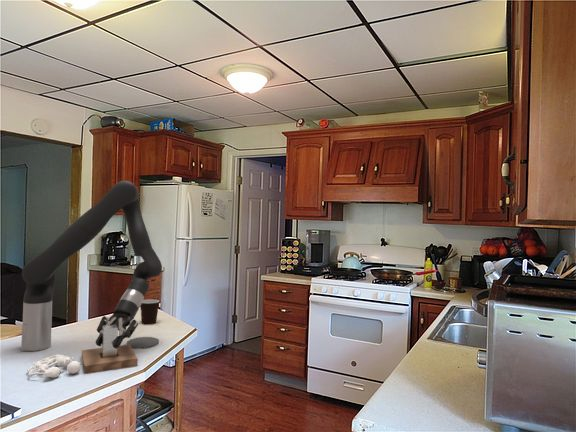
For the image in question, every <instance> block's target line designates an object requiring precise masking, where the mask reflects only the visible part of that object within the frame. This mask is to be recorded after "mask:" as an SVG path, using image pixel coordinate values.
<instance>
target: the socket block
mask: <svg viewBox="0 0 576 432" xmlns="http://www.w3.org/2000/svg"><path fill="white" fill-rule="evenodd" d="M101 355H102V347H99V348H98V347H97V348H90V349H82V350H81V357H80V358H81V364H82V367H83V373H84V374H92V373H97V372H99V373H100V372H106V371H110V370H111V371H113V370H119V369H125V368H131V367H132V368H133V367H137V366H138V364H139V363H138V360H139V359H138V356H137V355H136V353H135V351H134V348H132V347H131V346H130V344H129V345H127V344H123V345H120V346H119V347H118V348H117V356H113V357H106V358H101Z"/></svg>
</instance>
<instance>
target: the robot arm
mask: <svg viewBox="0 0 576 432" xmlns="http://www.w3.org/2000/svg"><path fill="white" fill-rule="evenodd" d="M139 195H140V194H139V189H138V187H137V186H136V185H135V184H134V183H133V182H131V181H129V180H121V181H118V182H116V183H115V184H114V185H113V186H112V187H111V189H110V190H109V191H108V192H107V193H106V194H105V195H104V196H103V197H102V199H100V200H99V201H98V202H97V203H96V204H95V205H94V206H91V208H89V209H88V210H86V211H85V212H84V213H83V214H81V216H79V217H78V218H77V219H76V220H74V221H73V222H72V223H71V224H70V225H69V226H68V227H67V228H66V229H65V230H64V231H63V232H62V233H61V234H60V235H59V236H58V237H57V238H56V239H55V240H54V241H53V242H52V243H51V245H50V246H48V247H47V248H46V249H45V250H44V251H42V252H40V253H39V254H38V255H37V256H35V257H33V259H31V260H30V261H28V262H26V263H25V264H24V266H23V268H22V271H21V276H22V279H23V281H24V282H25V283H26V286H25V291H24V295H23V304H22V324H21V343H20V345H21V346H20V347H21V348H20V349H21V350H20V351H21V352H35V351H37V352H38V351H42V350H45V349H48V348H50V347H51V346H52V324H53V323H52V321H53V319H52V318H53V296H54V292H55V282H56V281H55V280H56V270H57V269H58V268H59V267H60V266H61V265H62V264H63V263H64V262H65V261H66V260H67V259H69V258H70V257H71V256H73V255H74V254H76V253H77V252H79V251H80V250H82V249H83V248H84V247H86V246H87V245H88V244H90V243H91V241H92V240H94V239H95V238H96V237H97V236H98V235H99V234H100V233H101V231H103V229H104V227H106V225H107V224H108V222H109V221H110V220H111V219H112V217H114V215H116V214H117V213H118V212H120V211H121V210H122V211H123V214H124V218H125V220H126V221H125V222H126V225H127V230H128V231H127V232H128V236H129V240H130V243H131V244H130V245H131V247H132V251H133V253H134V255H135V256H136V257H140V258H142V260H143V261H142V262H139V263H138V264H137V265H136V267H135V269H134V271H133V275H132V278H131V281H130V283H129V285H128V286H127V288H126V290H125V292H124V293H123V295H122V296H121V298H119V300H118V303H116V304H117V305H116V306H115V308H114V310H113V314H112V315H111V316H109V317H107V316H106V315H105V316H104V315H103V316H102V317H101V319H100V322H99V324H98V325H97V327H96V332H97V333H99V334H98V336H97V338H96V340H95V345H96V346H97V347H102V326H107V325H117V327H118V336H117V338H116V340H115V342H114V344H113V347H114V348H116V349H117V348H118V347H119V346H121V344H123V343H122V342H123V341H124V340H125V339H126V338H127V339H131V337H132V335H133V333H134V332H135V331H136V329H137V327H138V326H139V323H138V321H137V320H136V319H135V318H136V317H135V316H136V314H137V313H138V312H139V309H140V306H141V304H142V301H143V300H145V297H146V295H147V293H148V291H149V289H150V284H149V282H148V280H149V279H152V278H156V277H158V276H159V275H161V274H162V270H163V264H162V261H161V259H160V258H159V256H158V255H157V253H156V252H155V250H154V248H153V247H152V243H151V240H150V236H149V233H148V231H147V227H146V224H145V221H144V219H143V215H142V211H141V207H140V196H139Z"/></svg>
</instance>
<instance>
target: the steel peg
mask: <svg viewBox="0 0 576 432" xmlns="http://www.w3.org/2000/svg"><path fill="white" fill-rule="evenodd" d="M117 336H119V330H118V327H117V325H107V326H102V344H101V348H102V355H101V358H106V357H113V356H117V349H116V348H114V347H113V344H114V342H115V340H116V338H117Z"/></svg>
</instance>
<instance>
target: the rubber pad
mask: <svg viewBox="0 0 576 432" xmlns="http://www.w3.org/2000/svg"><path fill="white" fill-rule="evenodd" d="M159 343H160V339H158V338H156V337H153V336H142V337H141V336H140V337H139V336H138V337H133V338H129V340H127V341H126V345H129V344H130V346H131V347H132V349H136V348H142V349H148V348H149V349H150V348H152V347H153V348H154V347H156V346H157V345H159Z"/></svg>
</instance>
